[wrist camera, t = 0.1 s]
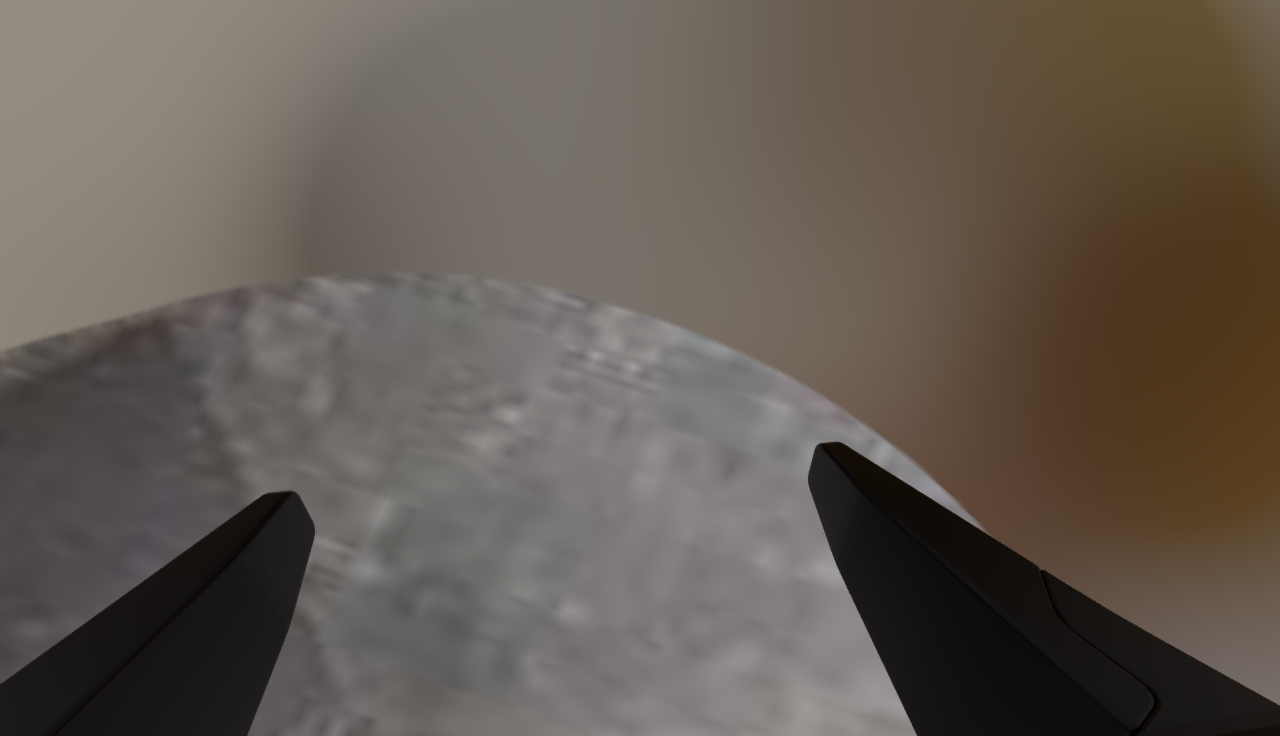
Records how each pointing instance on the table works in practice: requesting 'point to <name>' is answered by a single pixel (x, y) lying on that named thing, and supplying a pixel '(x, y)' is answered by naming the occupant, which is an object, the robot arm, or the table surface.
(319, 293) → the table surface
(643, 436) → the table surface
